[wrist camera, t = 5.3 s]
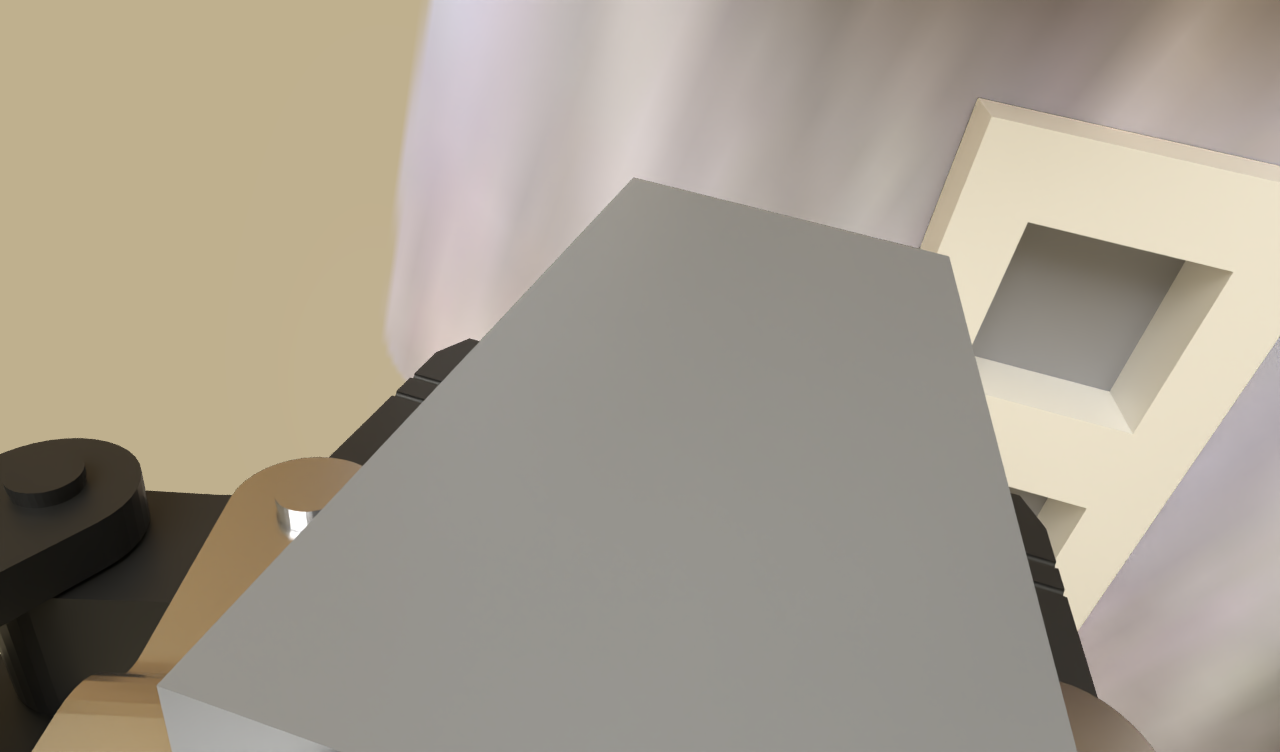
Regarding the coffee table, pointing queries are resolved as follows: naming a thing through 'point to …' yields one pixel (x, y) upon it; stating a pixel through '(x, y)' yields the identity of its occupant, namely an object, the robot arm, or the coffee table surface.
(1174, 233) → the outlet plate
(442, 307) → the coffee table surface
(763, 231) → the block
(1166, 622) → the coffee table surface
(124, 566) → the robot arm
